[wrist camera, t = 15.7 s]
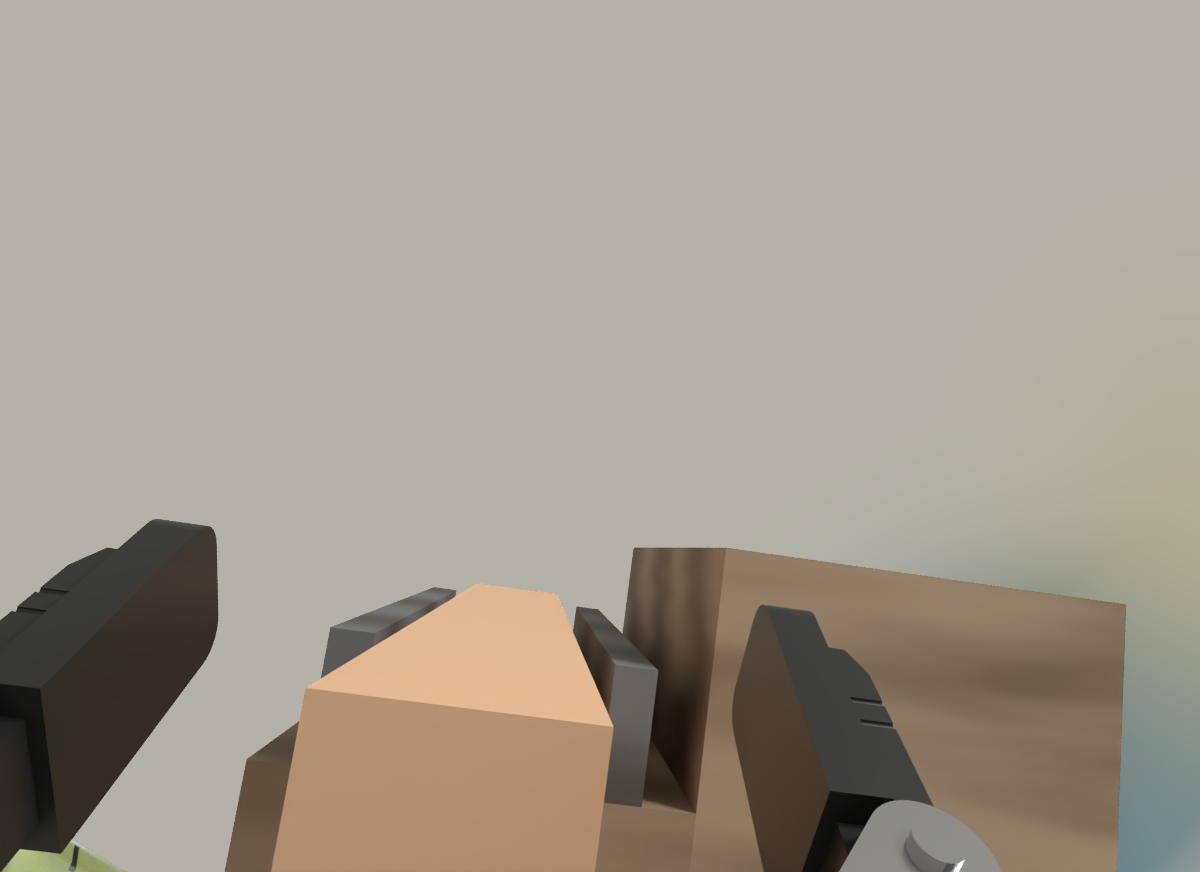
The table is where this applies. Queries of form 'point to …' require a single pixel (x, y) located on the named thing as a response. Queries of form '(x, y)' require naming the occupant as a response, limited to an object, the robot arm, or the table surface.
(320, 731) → the bar
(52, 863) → the tube
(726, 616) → the wooden knife block
